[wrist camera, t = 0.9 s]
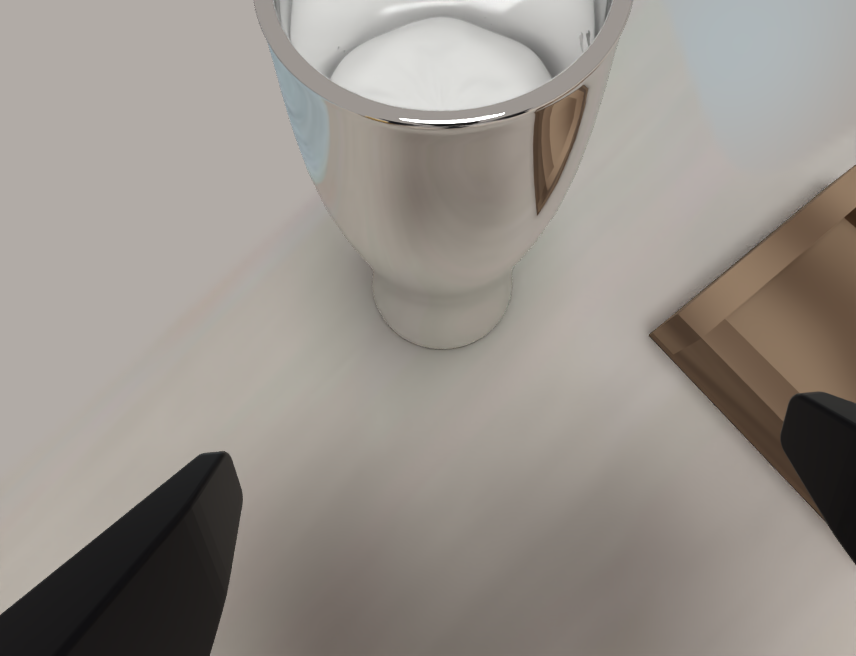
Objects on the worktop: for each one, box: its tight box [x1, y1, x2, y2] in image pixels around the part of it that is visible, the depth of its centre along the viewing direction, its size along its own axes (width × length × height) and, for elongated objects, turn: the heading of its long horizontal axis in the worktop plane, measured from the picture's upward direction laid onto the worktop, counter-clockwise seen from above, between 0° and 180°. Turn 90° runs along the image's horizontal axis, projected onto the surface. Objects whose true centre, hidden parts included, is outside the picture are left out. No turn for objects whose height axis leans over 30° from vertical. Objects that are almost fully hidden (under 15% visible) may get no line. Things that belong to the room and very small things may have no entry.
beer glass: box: [254, 0, 633, 349], centre depth 16 cm, size 7×7×15 cm
